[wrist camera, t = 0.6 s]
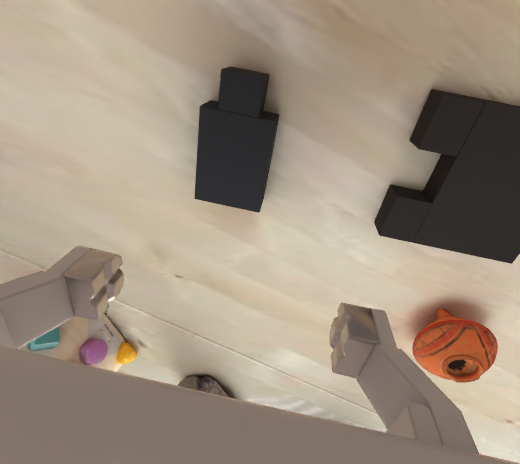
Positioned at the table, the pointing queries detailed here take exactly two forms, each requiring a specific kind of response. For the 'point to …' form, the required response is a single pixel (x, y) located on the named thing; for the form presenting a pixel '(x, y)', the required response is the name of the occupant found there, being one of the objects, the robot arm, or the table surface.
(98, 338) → the shape sorter
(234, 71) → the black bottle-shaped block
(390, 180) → the table surface
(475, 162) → the black notched square block
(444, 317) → the pot
